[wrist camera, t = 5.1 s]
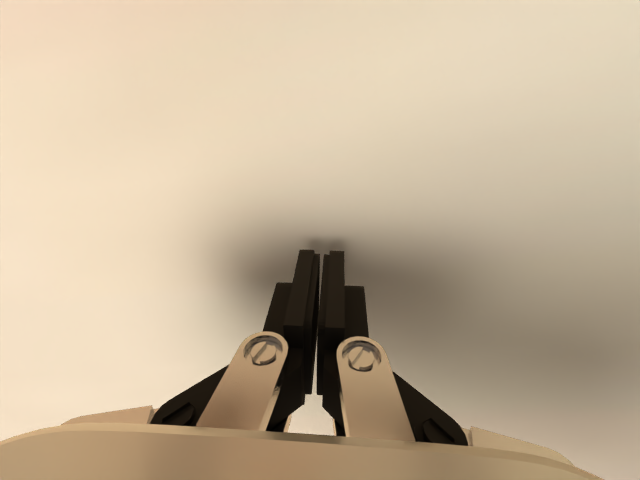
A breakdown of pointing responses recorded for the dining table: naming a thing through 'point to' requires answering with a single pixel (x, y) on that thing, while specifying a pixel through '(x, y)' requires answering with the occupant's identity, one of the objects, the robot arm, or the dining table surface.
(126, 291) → the dining table surface
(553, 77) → the dining table surface
